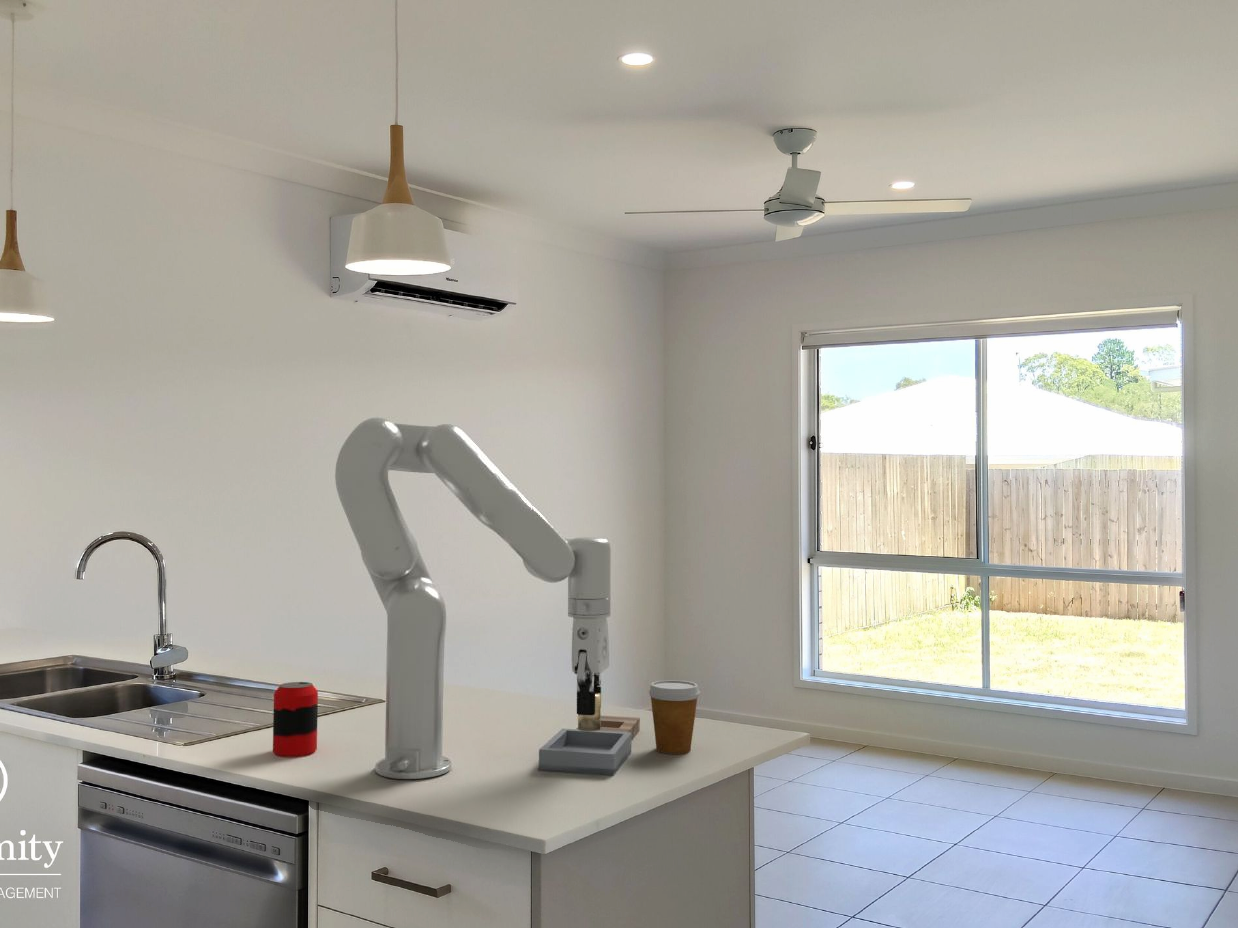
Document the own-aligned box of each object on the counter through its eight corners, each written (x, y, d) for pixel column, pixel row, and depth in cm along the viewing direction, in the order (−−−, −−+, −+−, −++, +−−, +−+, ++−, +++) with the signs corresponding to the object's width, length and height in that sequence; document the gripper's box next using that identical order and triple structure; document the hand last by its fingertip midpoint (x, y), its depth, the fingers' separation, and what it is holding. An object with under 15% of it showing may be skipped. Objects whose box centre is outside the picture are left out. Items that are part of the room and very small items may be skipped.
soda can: (325, 749, 189) (326, 682, 189) (298, 759, 182) (299, 690, 182) (291, 745, 192) (293, 679, 192) (263, 754, 185) (264, 686, 185)
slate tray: (613, 775, 174) (614, 754, 174) (538, 770, 177) (539, 749, 177) (631, 751, 190) (631, 732, 190) (562, 747, 193) (562, 728, 193)
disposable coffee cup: (707, 748, 194) (708, 683, 194) (684, 759, 185) (685, 691, 186) (662, 741, 198) (663, 677, 199) (638, 751, 190) (639, 685, 191)
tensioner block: (626, 747, 193) (626, 733, 193) (573, 743, 195) (574, 730, 195) (639, 730, 207) (639, 717, 207) (590, 727, 209) (590, 714, 209)
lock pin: (598, 731, 181) (598, 696, 181) (575, 730, 182) (575, 696, 182) (602, 726, 185) (602, 692, 185) (580, 725, 186) (580, 691, 186)
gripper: (600, 613, 175) (599, 723, 175) (619, 602, 192) (619, 702, 191) (556, 612, 177) (556, 721, 176) (579, 601, 193) (579, 701, 193)
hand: (589, 710), depth 184 cm, fingers closed on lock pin, 4 cm apart
